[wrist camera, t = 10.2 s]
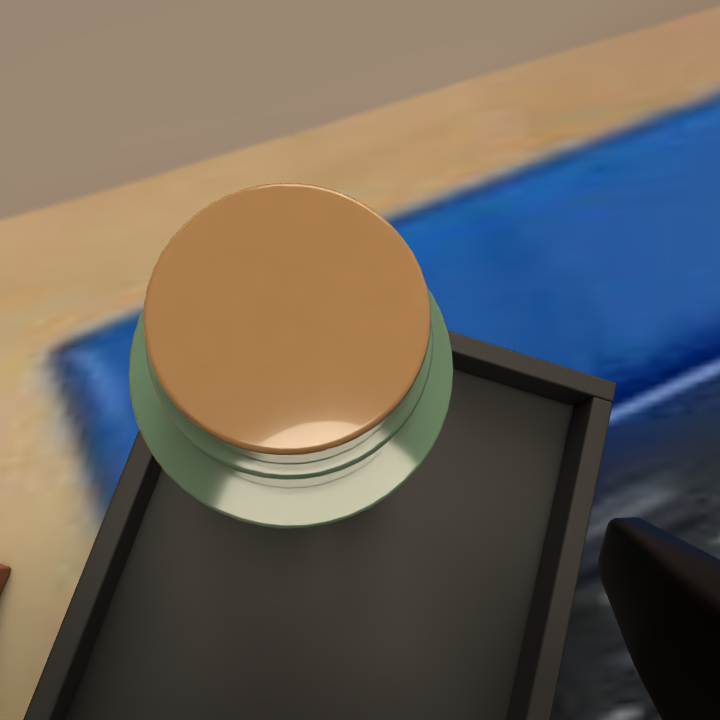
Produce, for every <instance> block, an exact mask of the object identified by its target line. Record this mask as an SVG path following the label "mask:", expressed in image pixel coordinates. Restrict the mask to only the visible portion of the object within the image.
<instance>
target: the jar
mask: <svg viewBox="0 0 720 720" xmlns="http://www.w3.org/2000/svg"><path fill="white" fill-rule="evenodd" d="M129 384H130V396H131V401H132V405H133V410H134V414H135V418H136V421H137V423H138V426H139V428H140V431H141V434H142V436H143V438H144V440H145V442H146V444H147V446H148V447H149V449H150V451H151V453H152V455H153V456H154V458H155V459H156V460H157V462H158V463H159V464H160V466H161V467H162V468H163V470H164V471H165V472H166V473H167V474H168V475H169V476H170V477H171V479H172V480H173V481H174V482H175V483H176V484H177V485H178V486H179V487H180V488H181V489H183V490H184V491H185V492H187V493H188V494H189V495H191V496H192V497H193V498H195V499H196V500H197V501H199V502H200V503H202V504H204V505H206V506H207V507H209V508H211V509H213V510H214V511H216V512H218V513H220V514H223V515H225V516H228V517H231V518H233V519H236V520H238V521H241V522H244V523H248V524H251V525H255V526H258V527H261V528H265V529H268V530H271V531H275V532H280V533H284V534H293V535H304V534H313V533H319V532H323V531H326V530H329V529H332V528H334V527H337V526H339V525H341V524H343V523H345V522H347V521H348V520H350V519H352V518H354V517H356V516H357V515H359V514H361V513H363V512H365V511H366V510H368V509H370V508H372V507H373V506H375V505H376V504H378V503H379V502H381V501H382V500H384V499H386V498H387V497H389V496H390V495H391V494H392V493H394V492H395V491H396V490H397V489H398V488H399V487H401V486H402V485H403V484H404V483H405V482H406V481H407V480H408V479H409V478H410V477H411V476H412V475H413V474H414V472H415V471H416V470H417V469H418V468H419V467H420V466H421V464H422V463H423V461H424V460H425V458H426V457H427V455H428V454H429V453H430V451H431V450H432V448H433V446H434V444H435V442H436V440H437V438H438V436H439V434H440V432H441V430H442V427H443V424H444V421H445V418H446V415H447V412H448V409H449V404H450V399H451V394H452V384H453V358H452V348H451V344H450V339H449V334H448V330H447V327H446V324H445V321H444V318H443V316H442V313H441V311H440V309H439V307H438V305H437V303H436V301H435V299H434V297H433V295H432V293H431V292H430V290H429V289H428V287H427V285H426V282H425V279H424V276H423V273H422V270H421V268H420V266H419V264H418V262H417V260H416V258H415V256H414V254H413V252H412V251H411V249H410V248H409V246H408V245H407V243H406V242H405V240H404V239H403V238H402V237H401V236H400V234H399V233H398V232H397V231H396V230H395V229H394V228H393V226H392V225H391V224H389V223H388V222H387V221H386V220H385V219H384V218H383V217H382V216H380V215H379V214H378V213H377V212H375V211H374V210H372V209H371V208H369V207H368V206H366V205H365V204H363V203H361V202H359V201H358V200H356V199H354V198H352V197H350V196H348V195H345V194H342V193H340V192H337V191H334V190H331V189H327V188H323V187H319V186H315V185H307V184H299V183H277V184H267V185H260V186H256V187H252V188H247V189H244V190H241V191H238V192H235V193H233V194H230V195H227V196H225V197H223V198H221V199H219V200H217V201H215V202H213V203H212V204H210V205H209V206H207V207H206V208H204V209H203V210H201V211H200V212H198V213H197V214H196V215H194V216H193V217H192V218H191V219H190V220H189V221H188V222H186V223H185V224H184V225H183V226H182V227H181V228H180V230H179V231H178V232H177V233H176V234H175V235H174V236H173V237H172V239H171V240H170V242H169V243H168V245H167V246H166V247H165V249H164V250H163V252H162V253H161V255H160V257H159V259H158V261H157V263H156V265H155V267H154V269H153V272H152V275H151V278H150V281H149V284H148V286H147V292H146V297H145V302H144V309H143V311H142V313H141V315H140V318H139V321H138V324H137V327H136V330H135V333H134V337H133V342H132V347H131V352H130V362H129Z"/></svg>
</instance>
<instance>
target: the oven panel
mask: <svg viewBox="0 0 720 720" xmlns="http://www.w3.org/2000/svg"><path fill="white" fill-rule="evenodd" d="M10 569H11V568H10V567H8V566H4V565H1V564H0V593H1V591H2V589H3V586H4V584H5V582H6V579H7V577H8V575H9V572H10Z"/></svg>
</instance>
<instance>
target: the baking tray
mask: <svg viewBox="0 0 720 720" xmlns="http://www.w3.org/2000/svg"><path fill="white" fill-rule="evenodd" d="M448 334H449V339H450V344H451V348H452V358H453V384H452V394H451V399H450V404H449V409H448V412H447V415H446V418H445V421H444V424H443V427H442V430H441V432H440V434H439V436H438V438H437V440H436V442H435V444H434V446H433V448H432V450H431V451H430V453H429V454H428V455H427V457H426V458H425V460H424V461H423V463H422V464H421V466H420V467H419V468H418V469H417V470H416V471H415V472H414V474H413V475H412V476H411V477H410V478H409V479H408V480H407V481H406V482H405V483H404V484H403V485H402V486H401V487H399V488H398V489H397V490H396V491H395V492H394V493H392V494H391V495H390V496H389V497H387V498H386V499H384V500H382V501H381V502H379V503H378V504H376V505H375V506H373V507H372V508H370V509H368V510H366V511H365V512H363V513H361V514H359V515H357V516H356V517H354V518H352V519H350V520H348V521H347V522H345V523H343V524H341V525H339V526H337V527H334V528H332V529H329V530H326V531H323V532H319V533H313V534H304V535H293V534H284V533H280V532H275V531H271V530H268V529H265V528H261V527H258V526H255V525H251V524H248V523H244V522H241V521H238V520H236V519H233V518H231V517H228V516H225V515H223V514H220V513H218V512H216V511H214V510H213V509H211V508H209V507H207V506H206V505H204V504H202V503H200V502H199V501H197V500H196V499H195V498H193V497H192V496H191V495H189V494H188V493H187V492H185V491H184V490H183V489H181V488H180V487H179V486H178V485H177V484H176V483H175V482H174V481H173V480H172V479H171V477H170V476H169V475H168V474H167V473H166V472H165V471H164V470H163V468H162V467H161V466H160V464H159V463H158V462H157V460H156V459H155V458H154V456H153V455H152V453H151V451H150V449H149V447H148V446H147V444H146V442H145V440H144V438H143V436H142V434H141V431H140V429H139V432H138V434H137V437H136V439H135V442H134V444H133V447H132V449H131V452H130V454H129V457H128V459H127V462H126V464H125V467H124V469H123V472H122V474H121V477H120V479H119V482H118V484H117V487H116V489H115V492H114V494H113V497H112V499H111V502H110V504H109V507H108V509H107V512H106V514H105V517H104V519H103V522H102V524H101V527H100V529H99V532H98V534H97V537H96V539H95V542H94V544H93V547H92V549H91V552H90V554H89V557H88V559H87V562H86V564H85V567H84V569H83V572H82V574H81V577H80V579H79V582H78V584H77V587H76V589H75V592H74V594H73V597H72V599H71V602H70V604H69V607H68V609H67V612H66V614H65V617H64V619H63V622H62V624H61V627H60V629H59V632H58V634H57V637H56V639H55V642H54V644H53V647H52V649H51V652H50V654H49V657H48V659H47V662H46V664H45V667H44V669H43V672H42V674H41V677H40V679H39V682H38V684H37V687H36V689H35V692H34V694H33V697H32V699H31V702H30V704H29V707H28V709H27V712H26V714H25V717H24V719H23V720H550V715H551V710H552V705H553V700H554V695H555V690H556V685H557V680H558V675H559V670H560V665H561V660H562V655H563V649H564V644H565V639H566V634H567V629H568V624H569V619H570V614H571V609H572V604H573V599H574V594H575V589H576V584H577V579H578V574H579V569H580V564H581V559H582V554H583V549H584V544H585V539H586V534H587V529H588V524H589V519H590V514H591V509H592V504H593V499H594V494H595V489H596V484H597V479H598V474H599V469H600V464H601V459H602V454H603V449H604V444H605V439H606V434H607V429H608V424H609V419H610V414H611V409H612V403H611V402H612V401H613V399H614V394H615V389H616V383H615V382H612V381H608V380H605V379H602V378H599V377H596V376H592V375H589V374H586V373H583V372H579V371H576V370H573V369H570V368H567V367H563V366H560V365H557V364H554V363H551V362H547V361H544V360H541V359H538V358H534V357H531V356H528V355H525V354H522V353H518V352H515V351H512V350H509V349H506V348H502V347H499V346H496V345H493V344H489V343H486V342H483V341H480V340H477V339H473V338H470V337H467V336H464V335H461V334H457V333H454V332H451V331H448Z"/></svg>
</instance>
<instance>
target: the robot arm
mask: <svg viewBox="0 0 720 720" xmlns="http://www.w3.org/2000/svg"><path fill="white" fill-rule="evenodd" d="M598 567H599V574H600V578H601V581H602V583H603V586H604V588H605V591H606V594H607V596H608V599H609V601H610V604H611V607H612V609H613V612H614V614H615V617H616V620H617V622H618V625H619V627H620V630H621V633H622V635H623V638H624V640H625V643H626V646H627V648H628V651H629V653H630V656H631V658H632V660H633V663H634V665H635V667H636V669H637V671H638V673H639V676H640V678H641V680H642V682H643V684H644V686H645V687H646V689H647V691H648V693H649V695H650V697H651V699H652V701H653V703H654V705H655V707H656V709H657V711H658V712H659V714H660V716H661V718H662V720H720V560H719V559H717V558H715V557H713V556H711V555H709V554H708V553H706V552H704V551H702V550H700V549H698V548H696V547H694V546H692V545H690V544H688V543H686V542H685V541H683V540H681V539H679V538H677V537H675V536H673V535H671V534H669V533H667V532H665V531H664V530H662V529H660V528H658V527H656V526H654V525H652V524H650V523H648V522H646V521H644V520H643V519H640V518H636V517H632V518H615V519H612V520H611V521H610V522H609V523H608V526H607V529H606V533H605V537H604V541H603V544H602V548H601V552H600V556H599V562H598Z"/></svg>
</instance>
